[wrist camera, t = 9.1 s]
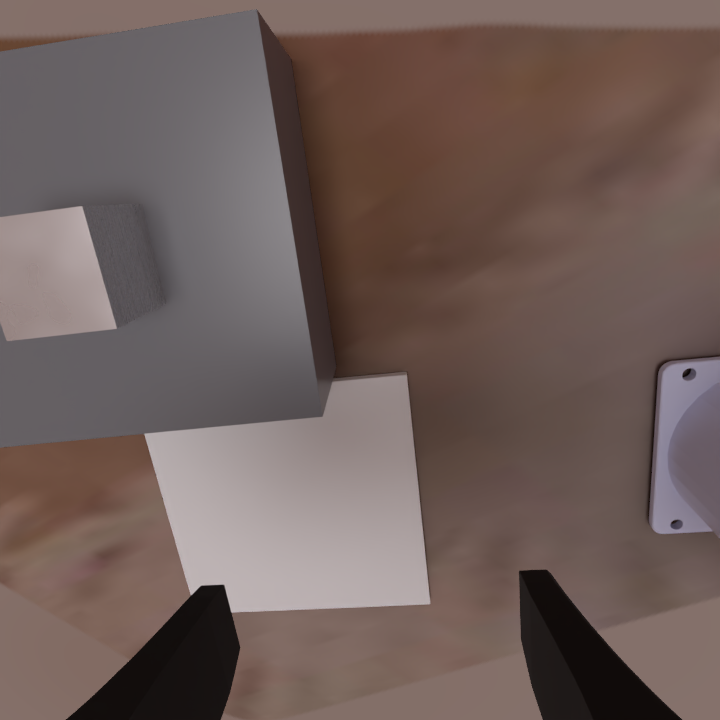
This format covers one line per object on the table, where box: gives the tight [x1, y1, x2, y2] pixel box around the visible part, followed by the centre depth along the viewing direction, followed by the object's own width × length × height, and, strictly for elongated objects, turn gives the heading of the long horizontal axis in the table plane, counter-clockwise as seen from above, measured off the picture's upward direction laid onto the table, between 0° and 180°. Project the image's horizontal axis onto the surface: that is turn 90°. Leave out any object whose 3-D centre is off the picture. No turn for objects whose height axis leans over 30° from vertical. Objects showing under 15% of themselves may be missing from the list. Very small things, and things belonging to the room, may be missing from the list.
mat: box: [145, 372, 430, 612], centre depth 23 cm, size 12×12×1 cm
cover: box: [0, 9, 336, 447], centre depth 16 cm, size 12×12×8 cm
